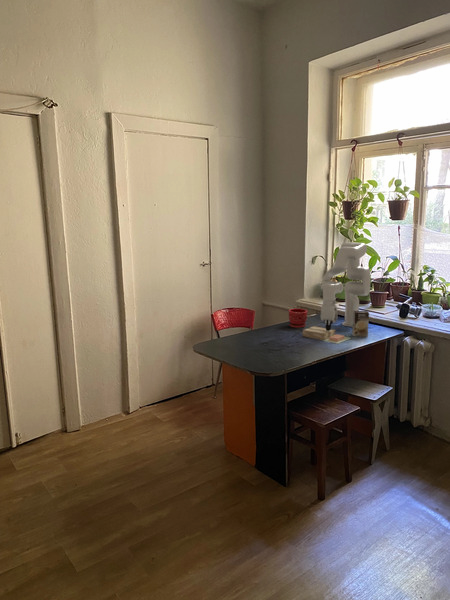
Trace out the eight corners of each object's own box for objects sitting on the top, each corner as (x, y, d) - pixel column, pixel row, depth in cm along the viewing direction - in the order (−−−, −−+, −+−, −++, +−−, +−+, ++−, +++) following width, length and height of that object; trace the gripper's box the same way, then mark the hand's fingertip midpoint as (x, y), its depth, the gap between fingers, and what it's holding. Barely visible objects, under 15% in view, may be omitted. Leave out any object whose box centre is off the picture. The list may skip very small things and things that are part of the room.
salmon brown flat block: (344, 335, 283) (344, 338, 284) (336, 334, 288) (336, 337, 288) (337, 338, 277) (337, 341, 278) (328, 337, 281) (328, 340, 282)
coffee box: (353, 336, 289) (354, 312, 286) (351, 334, 296) (352, 310, 293) (368, 336, 288) (369, 312, 285) (366, 334, 295) (367, 310, 292)
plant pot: (287, 328, 314) (287, 311, 312) (290, 323, 327) (290, 307, 324) (305, 329, 311) (306, 312, 308) (308, 324, 323) (308, 308, 321)
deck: (314, 331, 303) (314, 326, 303) (335, 335, 292) (335, 329, 292) (302, 336, 294) (302, 330, 293) (323, 340, 283) (323, 334, 282)
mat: (336, 335, 293) (336, 335, 293) (350, 338, 286) (351, 337, 286) (323, 340, 282) (323, 340, 282) (338, 343, 274) (338, 343, 274)
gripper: (342, 303, 281) (341, 330, 285) (322, 300, 292) (321, 327, 295) (336, 304, 276) (335, 333, 280) (315, 302, 286) (315, 329, 290)
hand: (328, 330), depth 287 cm, fingers closed
